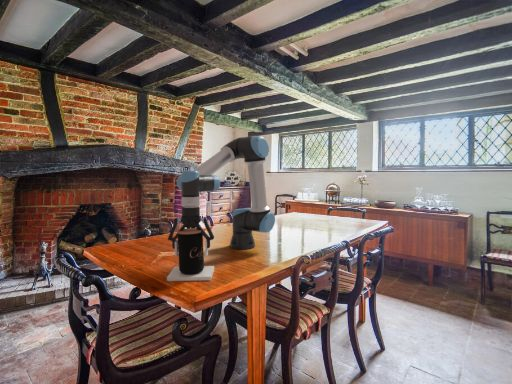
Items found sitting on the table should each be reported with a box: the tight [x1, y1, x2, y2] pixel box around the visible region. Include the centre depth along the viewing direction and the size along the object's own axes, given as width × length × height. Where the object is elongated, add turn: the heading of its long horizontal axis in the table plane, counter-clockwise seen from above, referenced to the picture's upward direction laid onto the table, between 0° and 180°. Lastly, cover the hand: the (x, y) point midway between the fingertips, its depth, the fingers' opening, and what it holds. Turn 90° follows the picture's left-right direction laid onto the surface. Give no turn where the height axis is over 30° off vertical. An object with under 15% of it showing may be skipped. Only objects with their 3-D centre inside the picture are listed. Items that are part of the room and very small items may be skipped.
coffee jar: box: [177, 227, 205, 274], centre depth 126 cm, size 11×11×18 cm
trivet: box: [166, 265, 215, 282], centre depth 127 cm, size 18×14×2 cm
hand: (191, 255), depth 126 cm, fingers open, 12 cm apart
